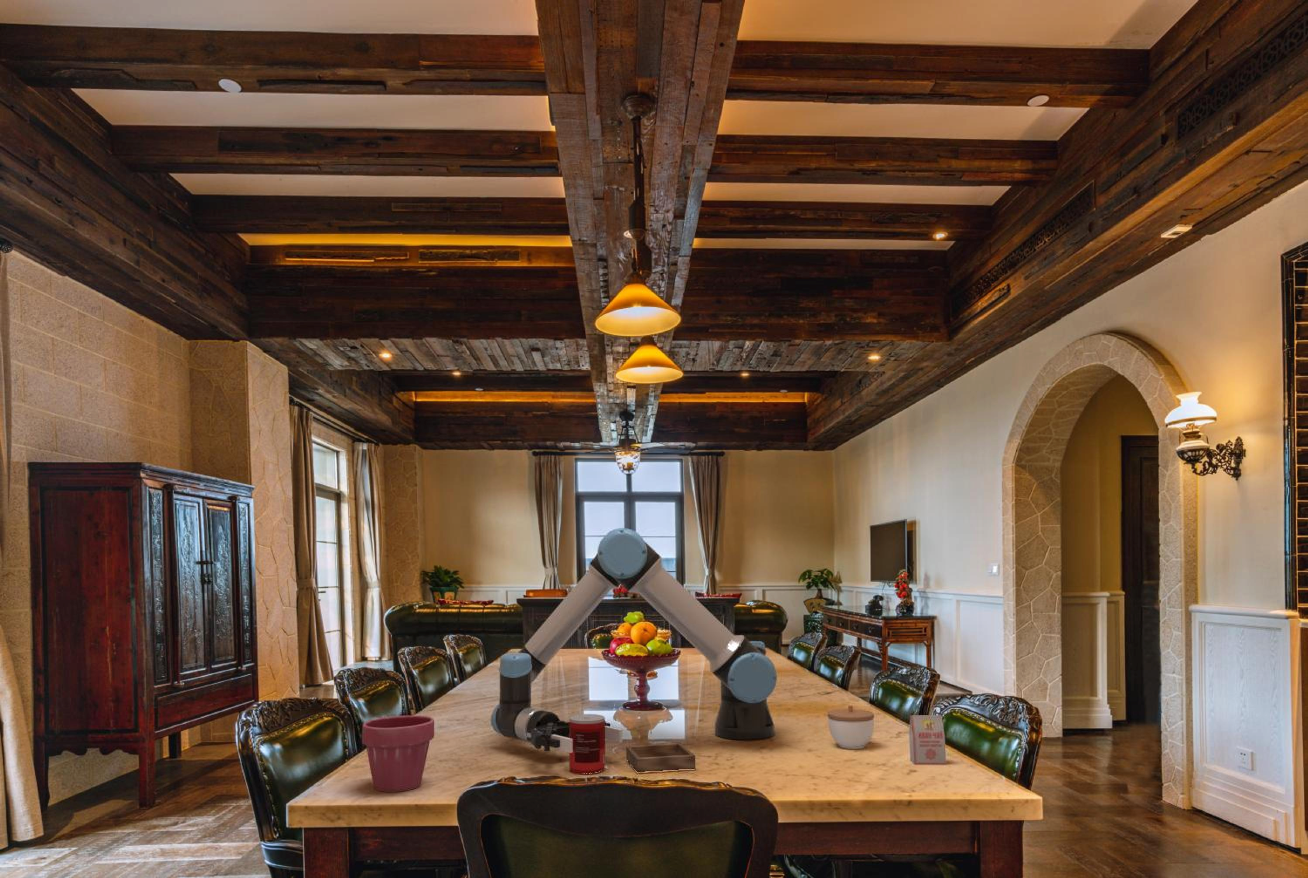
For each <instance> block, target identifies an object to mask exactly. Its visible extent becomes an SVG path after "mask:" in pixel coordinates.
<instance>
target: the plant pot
mask: <svg viewBox="0 0 1308 878" xmlns="http://www.w3.org/2000/svg"><path fill="white" fill-rule="evenodd" d="M434 738H435V718H433V717H430V716H427V715H426V716H425V715H398V716H397V715H396V716H387V717H380V718H374V719H370V720H367V721H365V722H364V723H362V730H361V743H362V744H363V746H364V745H365V746H366V751H367V752H366V753H367V757H368V763H369V769H370V774H371V779H372V785H373V788H374V789H375V790H376V791H379V792H387V793H388V792H389V793H390V792H391V793H394V792H395V793H396V792H404V791H410V790H413V789H416V788H419V787H420V786H421V784H422V780H423V775H424V771H425V765H426V762H427V756H428V752H429V748H430V747H429V746H430V742H431V740H432V741H433V739H434Z"/></svg>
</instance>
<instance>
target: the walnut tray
mask: <svg viewBox="0 0 1308 878" xmlns="http://www.w3.org/2000/svg"><path fill="white" fill-rule="evenodd" d="M625 748H626V749H625V754H626V755H625V757H626V758H625V760H626V759H627V760H628V762H629V763H630V764H631V765H632V766H633V768H634V769H635V770H636V771H637V772H645V771H663V770H679V769H695V770H696V755H695V754H694V753H693V752H692V751H691V750H689V749H688V748H687V747H686V746H684V745H683V744H682V743H680V742H679V743H676V742H675V743H663V744H648V745H647V744H645V745H631V746H630V745H629V746H625ZM628 762H627V763H628ZM629 763H628V764H629ZM630 764H629V765H630ZM633 768H632V769H633ZM634 769H633V770H634Z"/></svg>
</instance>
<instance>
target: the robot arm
mask: <svg viewBox="0 0 1308 878" xmlns="http://www.w3.org/2000/svg"><path fill="white" fill-rule="evenodd" d="M620 586H621V587H622V588H623V589H625V590H626V591H627V592H628V593H636V594H639V595H640V596H641V597H642V598H643V599H644V601H646V602H647V603H648V604H649V605H650V606H651V607H652V608H653V609H655V610H656V612H657V613H659V614H660V615H661V616H662V617H663V618H664V619H665V620H666V621H667V622H668V623H669V624H670V625H671V626H673V628H674V629H675V630H677V632H678V633H680V634H681V635H682V636H683V638H684V639H686V641H688V642H689V644H691V645H692V646H693V647H694V648H695V649H696V650H697V651H698V652H699V653H700V654H701V655H702V656H704V658H706V659H707V660H708V661H709V664H710V665H709V667H710V670H709V671H710V672H711V673H712V674H713V675H714V676H715V677H716V678H717V679H718V680H719V681H720V704H719V709H718V712H717V716H716V719H715V723H714V735H716V736H717V737H719V738H724V739H728V740H729V739H730V740H738V741H740V740H741V741H742V740H743V741H744V740H747V741H749V740H750V741H751V740H752V741H753V740H762V739H767V738H771V737H774V736H775V724H774V720H773V717H772V715H771V710H770V708H769V705H768V701H767V700H768V698H769V697H770V696H771V695H772V693H773V692H774V690H775V688H776V686H777V679H778V678H777V677H778V676H777V670H776V667H775V665H774V663H773V661H772V660H771V659H770V658H769V657H768V656H767V655H766V654H767V650H766V645H765V642H763V641H760V640H759V641H755V640H754V641H753V640H750V641H749V639H748V638H747V637H746V636H744V635H742V634H741V635H735V634H733V633H732V631H730V630H729V629H728V628H727V627H726V626H725V625H724V624H723V623H722V622H721V621H719V619H717V617H715V616H714V614H712V612H710V611H709V610H708V609H707V608H706V607H705V606H704V605H703V604H702V603H701V602H700V601H699V600H698V599H697V598H696V597H694V595H693V594H692V593H691V592H689V591H688V590H687V589H686V588H685V587H684V586H683V585H682V584H681V583H680V582H679V581H678V580H677V579H676V578H675V577H674V576H673V575H672V574H670V572H669V571H668V570H666V568H664V567H663V563H662V556H661V555H660V554H659V553H658V552H656V550H654V549H653V548H652V547H651V545H649V544H648V543H647V542H646V541H645V540H644V538H643V536H641V535H640V534H639V532H636V531H635V530H634V529H630V528H626V527H619V528H614V529H613V530H610V531H608V532H607V534H605V535H603V538H602V539H601V540H600V542H599V544H598V547H597V553H596V555H595V556H594V557H593V559H592V560H591V561H590V562H589V564H588V570H587V572H586V573H585V574H584V575H583V576H582V577H581V579H580V580H578V582H577V583H576V585H575V586H573V588H572V589H571V591H570V592H569V593H568V594H567V595H566V596H565V598H564V599H563V600H562V601H561V602H560V603H559V604H558V606H557V607H556V608H555V609H554V611H552V613H551V614H550V615H549V616H548V618H547V619H546V620H545V621H544V622H542V625H541V626H540V627H539V628H538V629H537V631H535V632H534V634H533V635H532V637H530V638H529V640H528V641H527V642H526V643H525V644H524V646H523V647H522V648H521V649H520V651H518V652H513V653H512V652H510V653H504V654H502V655H501V657H500V659H499V668H498V671H499V702H498V704H497V705H496V706H495V707H494V709H493V711H492V713H491V716H490V724H491V727H492V729H493V731H495V732H496V733H497V734H499V735H502V736H503V737H506V738H511V739H515V740H519V741H523V742H527V743H528V744H529V745H530V746H532V745H533V747H534V748H535V749H536V750H541V749H542V747H543V749H544V750H543V751H544V752H545V753H546V752H548V753H549V752H551V749H552V750H553V749H554V750H557V751H560V752H565V753H567V754H568V753H572V752H573V739H571V738H569V721H565V720H561V719H560V718H559V716H558V715H557V714H556V713H554V712H551V711H547V710H542V709H538V708H533V707H532V684H533V682H534V681H535V680H536V679H537V678H538V676H539V675H540V674H541V672H543V670H544V669H545V668H546V666H547V665H548V664H549V663H550V661H551V660H553V658H554V657H555V656H556V655H557V653H558V652H559V651H561V649H562V648H563V646H565V644H566V643H567V642H568V641H569V640H570V638H571V637H572V636H573V635H574V633H575V632H576V631H577V630H578V629H579V627H580V626H582V624H583V623H584V622H585V621H586V619H587V618H588V617H589V616H590V615H591V614H592V612H593V611H595V609H596V608H597V607H598V605H599V604H600V603H601V602H602V601H603V599H604V598H605V597H607V595H608V594H609V593H610V591H612V590H616V589H618V588H619V587H620ZM606 740H607V741H610V742H611V741H612V742H615V743H619V744H621V743H623V729H622V728H615V727H613V726H611V723H609V722H607V721H606V720H605V741H606Z"/></svg>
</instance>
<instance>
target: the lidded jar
mask: <svg viewBox="0 0 1308 878" xmlns="http://www.w3.org/2000/svg"><path fill="white" fill-rule="evenodd" d="M853 707H854V706H853V705H852V704H851V705H850V704H849V705H848V706H847V708H837V709H831V710H829V711H828V712H827V718H828V719H827V720H828V729H829V732H830V735H831V737H832V739H833V740H834V741H835V742H836V744H837V745H838V747H839V748H841V749H846V750H861V749H862V750H863V749H864V748H866V746H867V744H868V743H870V741H871V740H872V737H873V733H874V725H875V722H874V719H875V714H874V712H873V711H870V710H866V709H860V708H853Z"/></svg>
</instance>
